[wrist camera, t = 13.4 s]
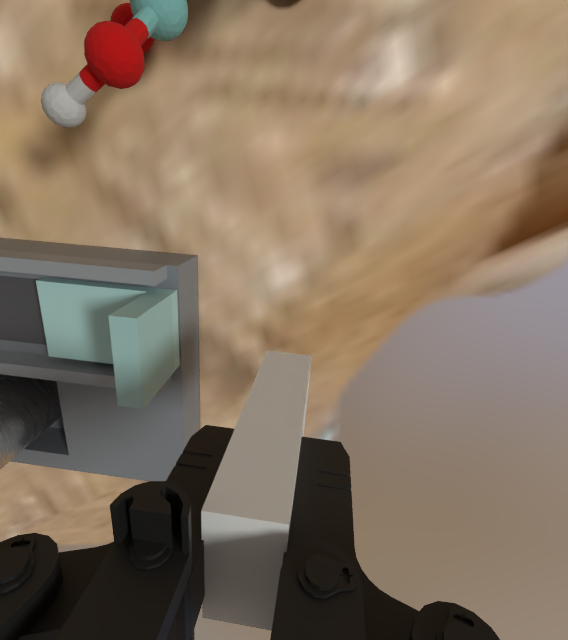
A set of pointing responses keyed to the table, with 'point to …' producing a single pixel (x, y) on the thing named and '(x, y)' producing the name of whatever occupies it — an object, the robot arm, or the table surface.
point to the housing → (98, 378)
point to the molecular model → (114, 55)
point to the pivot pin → (25, 412)
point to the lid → (114, 331)
